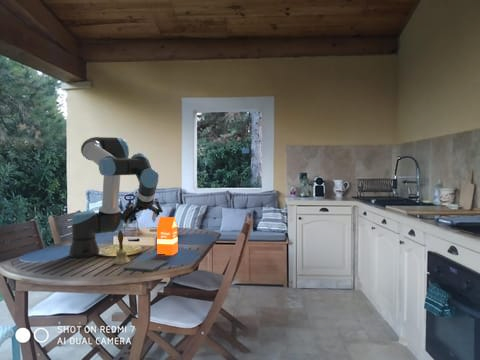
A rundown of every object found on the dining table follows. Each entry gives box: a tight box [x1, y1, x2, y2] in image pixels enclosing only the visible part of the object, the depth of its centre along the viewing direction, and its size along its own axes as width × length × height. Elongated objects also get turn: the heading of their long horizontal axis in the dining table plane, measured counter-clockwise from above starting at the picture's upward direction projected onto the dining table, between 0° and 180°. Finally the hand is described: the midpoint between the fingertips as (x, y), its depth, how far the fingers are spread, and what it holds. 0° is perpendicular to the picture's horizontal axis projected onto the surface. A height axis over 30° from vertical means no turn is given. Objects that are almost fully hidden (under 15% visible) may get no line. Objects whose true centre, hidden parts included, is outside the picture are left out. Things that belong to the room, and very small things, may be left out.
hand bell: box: [112, 229, 131, 265], centre depth 180 cm, size 8×8×16 cm
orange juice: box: [156, 216, 179, 256], centre depth 197 cm, size 8×9×20 cm
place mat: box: [123, 258, 169, 273], centre depth 173 cm, size 15×15×1 cm
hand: (140, 222), depth 180 cm, fingers open, 13 cm apart
